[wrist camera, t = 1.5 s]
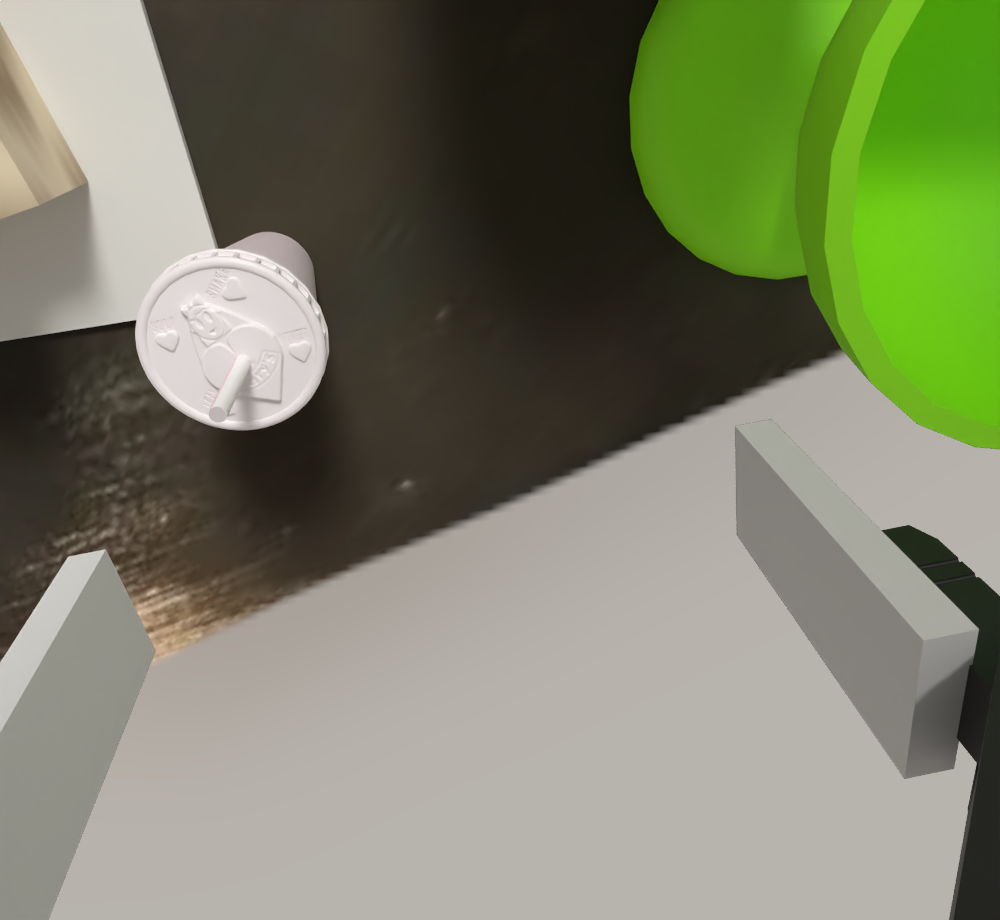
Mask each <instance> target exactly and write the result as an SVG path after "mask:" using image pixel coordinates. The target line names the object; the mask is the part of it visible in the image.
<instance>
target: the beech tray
mask: <svg viewBox="0 0 1000 920" xmlns="http://www.w3.org/2000/svg"><path fill="white" fill-rule="evenodd" d="M85 183H88V180H87V178H86V177H85V175H84V173H83V171H82V169H81V168H80V166H79V164H78V162H77V160H76V159H75V157H74V155H73V153H72V151H71V150H70V148H69V146H68V144H67V142H66V140H65V139H64V137H63V135H62V133H61V131H60V130H59V128H58V126H57V124H56V122H55V121H54V119H53V117H52V115H51V113H50V112H49V110H48V108H47V106H46V104H45V103H44V101H43V99H42V97H41V95H40V94H39V92H38V90H37V88H36V86H35V85H34V83H33V81H32V79H31V77H30V76H29V74H28V72H27V70H26V68H25V67H24V65H23V63H22V61H21V59H20V57H19V56H18V54H17V52H16V50H15V48H14V47H13V45H12V43H11V41H10V39H9V38H8V36H7V34H6V32H5V30H4V29H3V27H2V25H1V23H0V219H2V218H5V217H8V216H11V215H13V214H16V213H19V212H22V211H25V210H27V209H30V208H33V207H36V206H39V205H41V204H43V203H45V202H47V201H49V200H51V199H54V198H56V197H58V196H60V195H62V194H64V193H66V192H68V191H71V190H73V189H75V188H77V187H79V186H81V185H83V184H85Z"/></svg>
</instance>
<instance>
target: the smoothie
mask: <svg viewBox="0 0 1000 920" xmlns="http://www.w3.org/2000/svg"><path fill="white" fill-rule="evenodd" d="M135 337H136V346H137V351H138V355H139V359H140V362H141V364H142V367H143V369H144V371H145V373H146V375H147V377H148V378H149V380H150V381H151V383H152V384H153V386H154V387H155V388H156V390H157V391H158V392H159V393H160V394H161V395H162V396H163V397H164V398H165V399H166V400H167V401H168V402H169V403H170V404H171V405H172V406H174V407H175V408H176V409H178V410H179V411H181V412H182V413H184V414H185V415H187V416H189V417H191V418H193V419H195V420H197V421H199V422H202V423H204V424H207V425H210V426H214V427H218V428H222V429H229V430H254V429H260V428H265V427H269V426H272V425H275V424H277V423H280V422H282V421H284V420H286V419H288V418H289V417H291V416H292V415H294V414H295V413H297V412H298V411H299V410H300V409H301V408H302V407H303V406H304V405H305V404H307V402H308V401H309V400H310V399H311V397H312V396H313V394H314V393H315V391H316V389H317V387H318V385H319V384H320V381H321V378H322V376H323V374H324V372H325V368H326V364H327V359H328V355H329V340H328V328H327V325H326V322H325V319H324V317H323V314H322V311H321V308H320V306H319V304H318V303H317V297H316V286H315V276H314V268H313V265H312V262H311V259H310V257H309V256H308V254H307V252H306V251H305V250H304V249H303V248H302V246H301V245H299V244H298V243H297V242H296V241H294V240H293V239H291V238H289V237H288V236H285V235H283V234H279V233H275V232H261V233H257V234H253V235H251V236H249V237H247V238H245V239H243V240H241V241H239V242H237V243H235V244H233V245H231V246H228V247H226V248H224V249H210V250H206V251H202V252H198V253H194V254H190V255H187V256H186V257H184V258H182V259H180V260H179V261H177V262H175V263H174V264H172V265H170V266H168V267H167V268H166V269H165V270H164V271H163V273H162V274H161V275H160V276H159V277H158V278H157V279H156V280H155V281H154V282H153V284H152V285H151V287H150V290H149V291H148V293H147V294H146V296H145V298H144V300H143V301H142V304H141V306H140V309H139V312H138V316H137V321H136V331H135Z"/></svg>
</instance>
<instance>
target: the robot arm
mask: <svg viewBox="0 0 1000 920" xmlns="http://www.w3.org/2000/svg"><path fill="white" fill-rule="evenodd" d="M735 441H736V442H735V445H736V446H735V447H736V515H737V536H738V537H739V539H740V540H741V542H742V543H743V545H744V546H745V547H746V549H747V550H748V552H749V553H750V555H751V556H752V558H753V559H754V561H755V562H756V563H757V565H758V566H759V568H760V569H761V571H762V572H763V574H764V575H765V577H766V578H767V580H768V581H769V582H770V584H771V585H772V587H773V588H774V590H775V591H776V592H777V594H778V596H779V597H780V598H781V600H782V601H783V603H784V604H785V606H786V607H787V609H788V610H789V612H790V613H791V614H792V616H793V617H794V619H795V620H796V622H797V623H798V625H799V626H800V628H801V629H802V630H803V632H804V633H805V635H806V636H807V638H808V639H809V641H810V642H811V644H812V645H813V647H814V648H815V649H816V651H817V652H818V654H819V655H820V657H821V658H822V660H823V661H824V662H825V664H826V665H827V667H828V668H829V670H830V671H831V673H832V674H833V675H834V677H835V678H836V680H837V681H838V683H839V684H840V686H841V687H842V689H843V690H844V691H845V693H846V695H847V696H848V697H849V699H850V700H851V701H852V703H853V705H854V706H855V707H856V709H857V711H858V712H859V713H860V715H861V716H862V718H863V719H864V721H865V722H866V724H867V725H868V727H869V728H870V730H871V731H872V732H873V734H874V735H875V737H876V738H877V740H878V741H879V743H880V744H881V746H882V747H883V748H884V750H885V751H886V753H887V754H888V756H889V757H890V759H891V760H892V762H893V763H894V764H895V766H896V767H897V769H898V770H899V772H900V773H901V775H902V776H903V778H904V779H906V778H911V777H916V776H921V775H926V774H930V773H935V772H940V771H944V770H950V769H954V765H955V760H956V754H957V748H958V743H959V741H960V742H961V744H962V745H963V746H964V747H965V749H966V750H967V751H968V752H969V753H970V755H971V756H972V757H973V758H974V760H975V761H976V762H977V766H976V771H975V775H974V780H973V785H972V790H971V796H970V801H969V805H968V815H967V821H966V827H965V832H964V839H963V844H962V850H961V855H960V861H959V867H958V872H957V878H956V884H955V889H954V895H953V901H952V906H951V912H950V918H949V920H1000V596H999V595H998V594H997V593H996V592H995V591H994V590H992V589H991V588H990V587H989V586H988V585H987V584H986V583H985V582H984V581H983V580H982V579H981V578H979V577H977V578H976V576H975V573H974V572H973V571H972V570H971V569H970V568H969V567H968V566H966V565H965V564H964V563H963V562H959V561H958V557H957V556H956V555H954V554H953V553H952V552H951V551H950V550H949V549H948V548H947V547H946V546H945V545H943V543H941V542H940V541H939V540H938V539H936V538H934V537H932V536H930V535H928V534H926V533H924V532H922V531H920V530H918V529H916V528H914V527H912V526H909V525H907V526H902V527H897V528H892V529H887V530H882V531H881V530H880V529H879V528H878V526H877V525H876V524H874V522H872V520H870V518H869V517H868V516H867V515H866V514H865V513H864V512H863V511H862V510H861V509H860V508H859V507H857V506H856V504H855V503H854V502H853V501H852V500H851V499H850V498H849V497H848V496H847V495H846V494H845V493H844V492H843V491H842V490H841V489H840V488H839V487H838V486H837V485H836V484H835V483H834V482H833V481H832V480H831V479H830V478H829V477H828V476H827V475H826V474H825V473H824V472H823V471H822V470H821V469H820V468H819V467H818V466H817V465H816V464H815V463H814V462H813V461H812V460H811V459H810V458H809V457H808V456H807V455H806V454H805V453H804V452H803V451H802V450H801V449H800V448H799V447H798V446H797V445H796V444H795V443H794V442H793V441H792V440H791V439H790V438H789V437H788V436H787V435H786V434H785V432H784V431H783V430H781V429H780V427H779V426H778V425H777V424H776V423H775V422H774V421H773V420H772V419H769V420H763V421H758V422H753V423H748V424H743V425H738V426H735ZM155 651H156V650H155V648H154V646H153V644H152V642H151V640H150V638H149V636H148V634H147V632H146V630H145V628H144V626H143V624H142V622H141V620H140V618H139V616H138V614H137V612H136V610H135V608H134V606H133V604H132V602H131V600H130V598H129V596H128V593H127V591H126V589H125V587H124V585H123V583H122V581H121V579H120V577H119V575H118V573H117V571H116V569H115V567H114V565H113V563H112V561H111V559H110V557H109V555H108V553H107V551H106V550H101V551H95V552H90V553H85V554H80V555H75V556H70V557H68V558H67V560H66V561H65V563H64V564H63V566H62V567H61V569H60V571H59V572H58V574H57V575H56V577H55V578H54V580H53V581H52V583H51V585H50V586H49V588H48V589H47V591H46V592H45V594H44V595H43V597H42V599H41V600H40V602H39V603H38V605H37V606H36V608H35V609H34V611H33V613H32V614H31V616H30V617H29V619H28V620H27V622H26V623H25V625H24V627H23V628H22V630H21V631H20V633H19V634H18V636H17V638H16V639H15V641H14V642H13V644H12V645H11V647H10V648H9V650H8V652H7V653H6V655H5V656H4V658H3V659H2V661H1V662H0V920H49V917H50V915H51V912H52V909H53V907H54V905H55V902H56V900H57V897H58V895H59V892H60V890H61V887H62V884H63V882H64V879H65V877H66V874H67V872H68V869H69V867H70V864H71V862H72V859H73V857H74V854H75V852H76V849H77V847H78V844H79V842H80V839H81V837H82V834H83V832H84V829H85V827H86V824H87V822H88V819H89V817H90V814H91V812H92V809H93V807H94V804H95V802H96V799H97V797H98V794H99V792H100V789H101V787H102V784H103V782H104V779H105V777H106V774H107V772H108V769H109V767H110V764H111V761H112V759H113V757H114V754H115V751H116V749H117V746H118V744H119V742H120V739H121V737H122V734H123V732H124V729H125V727H126V724H127V722H128V719H129V716H130V714H131V712H132V709H133V707H134V704H135V702H136V699H137V697H138V694H139V691H140V689H141V686H142V684H143V681H144V679H145V676H146V674H147V671H148V669H149V666H150V664H151V661H152V659H153V656H154V654H155Z"/></svg>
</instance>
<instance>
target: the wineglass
mask: <svg viewBox="0 0 1000 920" xmlns="http://www.w3.org/2000/svg"><path fill="white" fill-rule="evenodd" d="M629 103H630V131H631V150H632V154H633V157H634V161H635V164H636V167H637V171H638V174H639V178H640V181H641V184H642V188H643V191H644V195H645V196H646V198H647V199H648V201H649V203H650V204H651V206H652V207H653V209H654V211H655V212H656V214H657V215H658V217H659V219H660V220H661V222H662V223H663V225H664V226H665V228H666V230H667V231H668V232H669V233H670V234H671V235H672V236H673V237H674V238H676V239H677V240H678V241H679V242H680V243H681V244H683V245H684V246H685V247H686V248H687V249H688V250H689V251H691V252H692V253H693V254H694V255H695V256H696V257H698V258H699V259H701V260H703V261H705V262H708V263H710V264H712V265H715V266H717V267H719V268H721V269H724V270H726V271H728V272H731V273H733V274H735V275H743V276H751V277H760V278H768V279H784V278H791V277H797V276H804V275H807V277H808V282H809V287H810V292H811V295H812V297H813V298H814V300H815V302H816V304H817V306H818V308H819V309H820V311H821V313H822V315H823V317H824V318H825V320H826V322H827V324H828V326H829V327H830V329H831V331H832V333H833V335H834V337H835V338H836V340H837V342H838V344H839V346H840V347H841V349H842V350H843V351H844V352H845V353H846V355H847V356H848V357H849V358H850V359H851V360H852V362H854V364H855V365H856V366H857V367H858V368H859V370H860V371H861V372H862V373H863V374H864V375H865V376H866V378H867V379H868V380H869V381H870V382H871V383H872V384H873V385H874V386H875V387H876V388H877V389H878V390H880V391H881V392H882V393H883V394H884V395H885V396H886V397H887V398H889V399H890V400H891V401H892V402H893V403H894V404H896V406H898V407H899V408H900V409H901V410H902V411H903V412H904V413H906V414H907V415H908V416H909V417H910V418H911V419H912V420H913V421H915V422H916V423H917V424H919V425H921V426H924V427H926V428H929V429H931V430H933V431H936V432H938V433H941V434H944V435H946V436H948V437H951V438H953V439H956V440H958V441H961V442H963V443H966V444H968V445H971V446H973V447H980V448H991V449H992V448H993V449H1000V0H659V1H658V3H657V5H656V8H655V10H654V12H653V15H652V17H651V19H650V21H649V24H648V26H647V28H646V30H645V33H644V35H643V37H642V39H641V42H640V46H639V51H638V56H637V61H636V66H635V71H634V76H633V81H632V86H631V91H630V96H629Z"/></svg>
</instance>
